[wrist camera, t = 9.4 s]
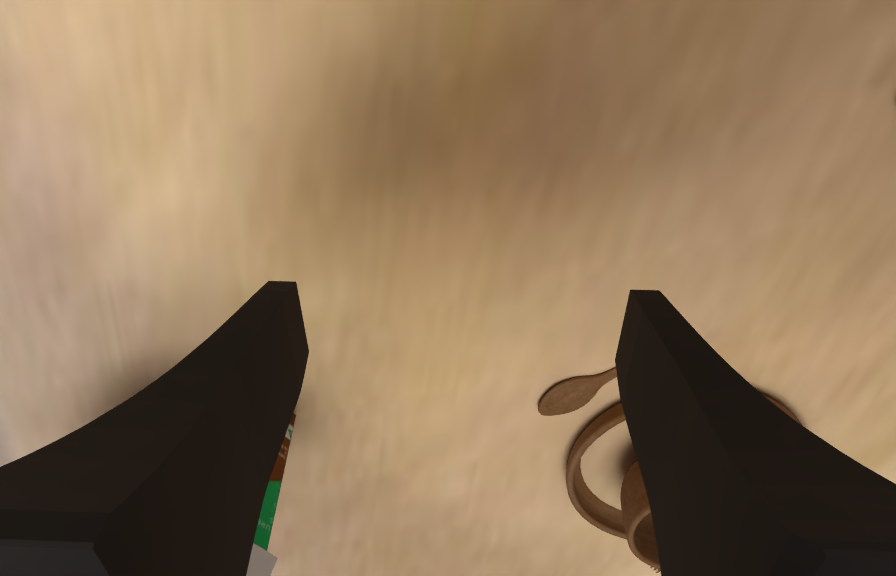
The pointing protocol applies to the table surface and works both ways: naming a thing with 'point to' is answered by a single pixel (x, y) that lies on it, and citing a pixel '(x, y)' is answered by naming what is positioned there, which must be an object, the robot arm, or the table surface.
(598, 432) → the place setting
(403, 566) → the table surface
